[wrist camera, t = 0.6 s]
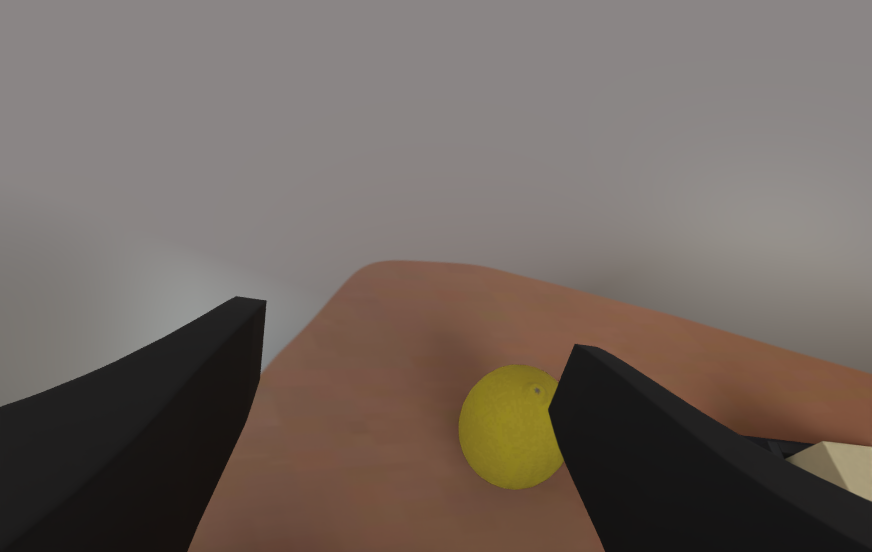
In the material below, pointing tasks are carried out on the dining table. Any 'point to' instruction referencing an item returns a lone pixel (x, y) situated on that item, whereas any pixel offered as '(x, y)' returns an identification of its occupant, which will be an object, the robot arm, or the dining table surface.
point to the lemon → (511, 427)
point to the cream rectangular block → (839, 465)
